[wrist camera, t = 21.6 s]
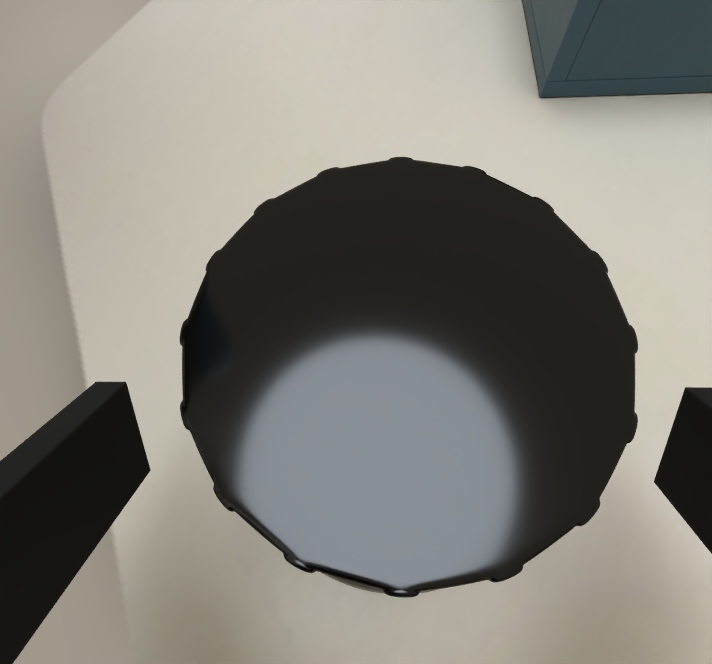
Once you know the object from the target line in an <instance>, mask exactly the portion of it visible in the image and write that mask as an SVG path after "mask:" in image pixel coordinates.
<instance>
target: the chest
mask: <svg viewBox="0 0 712 664" xmlns="http://www.w3.org/2000/svg"><path fill="white" fill-rule="evenodd" d="M522 1H523V6H524V12H525V17H526V22H527V28H528V33H529V39H530V44H531V50H532V55H533V61H534V66H535V72H536V77H537V83H538V88H539V94H540V97H571V96H602V95H633V94H664V93H695V92H712V0H522Z"/></svg>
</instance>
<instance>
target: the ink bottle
mask: <svg viewBox="0 0 712 664" xmlns="http://www.w3.org/2000/svg"><path fill="white" fill-rule="evenodd" d="M206 271H207V272H206V274H205V277H204V279H203V281H202V284H201V286H200V289H199V291H198V293H197V296H196V298H195V301H194V303H193V306H192V309H191V311H190V314H189V316H188V319H186V320H185V321H184V323H183V325H182V328H181V333H180V344H181V345H182V384H183V401H182V402H181V405H180V411H181V417H182V421H183V424H184V426H185V428H186V429H187V430H190V432H191V434H192V437H193V439H194V441H195V444H196V446H197V448H198V451H199V453H200V455H201V457H202V459H203V462H204V464H205V466H206V468H207V470H208V472H209V474H210V476H211V478H212V480H213V482H214V487H213V489H214V492H215V494H216V496H217V498H218V499H219V500H220V502H221V503H222V504H223V505H224V507H225V508H226V509H228V510H229V511H235V512H236V513H237V514H239V515H240V516H241V517H242V518H243V519H244V520H245V521H246V522H247V523H248V524H249V525H250V526H252V527H253V528H254V529H255V530H256V531H257V532H258V533H260V534H261V535H262V536H263V537H264V538H266V539H267V540H268V541H269V542H270V543H272V544H273V545H274V546H275V547H276V548H278V549H279V550H280V551H281V552H283V554H284V558H285V559H286V561H288V562H289V563H290V564H292V565H293V566H295V567H297V568H298V569H300V570H302V571H305V572H308V573H313V572H315V571H318V572H321V573H323V574H325V575H326V576H328V577H330V578H332V579H335V580H337V581H339V582H341V583H344V584H346V585H349V586H352V587H355V588H359V589H362V590H367V591H371V592H377V593H384V594H387V595H389V596H394V597H415V596H417V595H418V594H419V593H424V592H430V591H434V590H438V589H442V588H448V587H454V586H460V585H465V584H470V583H475V582H480V581H484V580H490V581H491V582H501V581H504V580H507V579H509V578H511V577H513V576H515V575H517V574H518V573H520V572H521V571H522V569H523V565H524V564H525V563H527V562H528V561H530V560H531V559H533V558H534V557H535V556H537V555H538V554H540V553H541V552H543V551H544V550H545V549H547V548H548V547H549V546H551V545H552V544H553V543H555V542H556V541H557V540H559V539H560V538H561V537H563V536H564V535H565V534H567V533H568V532H569V531H570V530H571V529H573V528H574V527H575V526H583V525H584V524H586V523H587V522H588V521H589V520H590V519H591V518H592V517H593V516H594V514H595V513H596V512H597V510H598V508H599V506H600V496H601V494H602V492H603V491H604V489H605V487H606V485H607V483H608V481H609V479H610V477H611V475H612V473H613V471H614V469H615V467H616V465H617V463H618V461H619V459H620V457H621V455H622V453H623V451H624V448H625V446H626V444H627V443H630V442H631V441H632V440H633V438H634V435H635V432H636V429H637V422H638V418H637V414H636V413H635V410H634V409H635V353H636V352H637V351H638V341H637V336H636V333H635V330H634V328H633V327H632V326H631V325H629V323H628V321H627V318H626V316H625V313H624V311H623V309H622V306H621V304H620V301H619V299H618V297H617V295H616V292H615V290H614V288H613V285H612V283H611V281H610V279H609V277H608V275H607V273H608V268H607V266H606V264H605V262H604V261H603V259H602V258H601V257H600V255H599V254H598V253H597V252H595V251H592V250H591V249H590V248H589V247H588V246H587V245H586V244H585V243H584V242H583V241H582V240H581V239H580V238H579V237H578V236H577V235H576V234H575V233H574V232H573V231H572V230H571V229H570V228H569V227H568V226H567V225H566V224H565V223H564V222H563V221H562V220H561V219H560V218H559V217H558V216H557V215H556V214H555V213H554V209H553V208H552V207H551V206H550V205H549V204H548V203H546V202H545V201H543V200H542V199H540V198H538V197H531V196H529V195H527V194H525V193H524V192H522V191H520V190H518V189H516V188H514V187H512V186H509V185H507V184H505V183H503V182H501V181H499V180H497V179H495V178H493V177H491V176H489V175H487V174H486V172H484V171H483V170H481V169H478V168H475V167H471V166H463V167H459V166H452V165H446V164H439V163H432V162H425V161H417V160H413V159H411V158H408V157H394V158H391V159H389V160H387V161H380V162H374V163H368V164H362V165H356V166H350V167H345V168H338V167H334V168H330V169H327V170H324V171H322V172H320V173H319V174H318V175H317V176H316V177H314V178H312V179H310V180H308V181H306V182H304V183H303V184H301V185H299V186H297V187H295V188H293V189H291V190H289V191H287V192H285V193H284V194H282V195H280V196H278V197H276V198H274V199H273V198H272V199H268V200H266V201H265V202H263V203H262V204H261V205H259V206H258V207H257V208H256V210H255V211H254V214H253V216H252V217H251V218H250V219H249V220H248V221H247V222H246V223H245V224H244V225H243V226H242V227H241V228H240V229H239V230H238V231H237V232H236V233H235V234H234V236H233V237H232V238H231V239H230V240H229V241H228V242H227V243H226V244H225V245H224V247H223V248H222V249H221V250H218V251H216V252H215V253H214V254H213V256H212V257H211V258H210V260H209V262H208V264H207V266H206Z"/></svg>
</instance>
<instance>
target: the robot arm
mask: <svg viewBox="0 0 712 664" xmlns="http://www.w3.org/2000/svg"><path fill="white" fill-rule="evenodd" d="M149 472H150V467H149V463H148V460H147V456H146V452H145V449H144V445H143V442H142V438H141V434H140V431H139V427H138V423H137V420H136V416H135V413H134V409H133V405H132V402H131V398H130V395H129V391H128V387H127V384H126V382H95V383H94V384H93V385H92V386H90V387H89V388H88V389H87V390H86V391H84V392H83V393H82V394H81V395H80V396H78V397H77V398H76V399H75V400H74V401H72V402H71V403H70V404H69V405H67V406H66V407H65V408H64V409H63V410H61V411H60V412H59V413H58V414H57V415H56V416H54V417H53V418H52V419H51V420H49V421H48V422H47V423H46V424H45V425H43V426H42V427H41V428H40V429H39V430H37V431H36V432H35V433H34V434H32V435H31V436H30V437H29V438H28V439H26V440H25V441H24V442H23V443H22V444H20V445H19V446H18V447H17V448H16V449H14V450H13V451H12V452H11V453H10V454H8V455H7V456H6V457H5V458H4V459H2V460H1V461H0V664H12V663H13V662H14V661H15V659H16V658H17V657H18V655H19V654H20V653H21V651H22V650H23V648H24V647H25V645H26V644H27V643H28V641H29V640H30V639H31V637H32V636H33V634H34V633H35V631H36V630H37V629H38V627H39V626H40V624H41V623H42V622H43V620H44V619H45V617H46V616H47V615H48V613H49V611H50V610H51V609H52V608H53V606H54V605H55V603H56V602H57V601H58V599H59V598H60V596H61V595H62V594H63V592H64V591H65V589H66V588H67V587H68V585H69V584H70V582H71V581H72V580H73V578H74V577H75V575H76V574H77V572H78V571H79V570H80V568H81V567H82V566H83V564H84V563H85V561H86V560H87V558H88V557H89V556H90V554H91V553H92V551H93V550H94V549H95V547H96V546H97V544H98V543H99V542H100V540H101V539H102V537H103V536H104V535H105V533H106V532H107V530H108V529H109V528H110V526H111V525H112V523H113V522H114V521H115V519H116V518H117V516H118V515H119V514H120V512H121V511H122V509H123V508H124V507H125V505H126V504H127V502H128V501H129V500H130V498H131V497H132V495H133V494H134V493H135V491H136V490H137V488H138V487H139V486H140V484H141V483H142V481H143V480H144V479H145V477H146V476H147V474H148V473H149ZM654 483H655V484H656V485H657V486H658V487H659V489H660V490H661V491H662V492H663V494H664V495H665V496H666V497H667V499H668V500H669V501H670V502H671V504H672V505H673V506H674V507H675V509H676V510H677V511H678V512H679V514H680V515H681V516H682V517H683V519H684V520H685V521H686V522H687V524H688V525H689V526H690V527H691V529H692V530H693V531H694V532H695V534H696V535H697V536H698V537H699V539H700V540H701V541H702V542H703V544H704V545H705V546H706V547H707V548H708V550H709V551H710V552H711V553H712V388H685V390H684V393H683V396H682V399H681V402H680V405H679V408H678V411H677V414H676V417H675V420H674V423H673V426H672V429H671V432H670V435H669V438H668V441H667V444H666V447H665V450H664V453H663V456H662V459H661V462H660V465H659V468H658V471H657V474H656V477H655V480H654Z"/></svg>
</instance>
